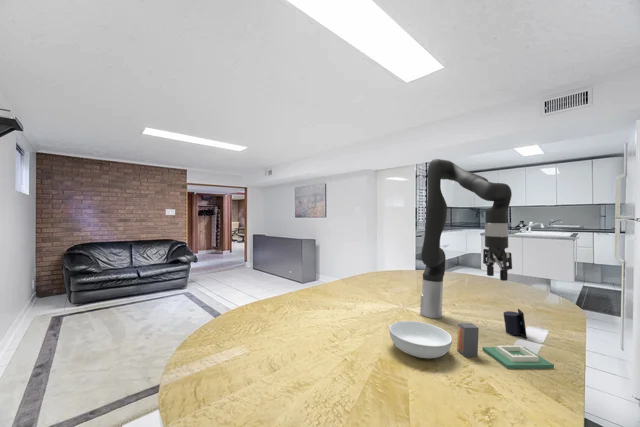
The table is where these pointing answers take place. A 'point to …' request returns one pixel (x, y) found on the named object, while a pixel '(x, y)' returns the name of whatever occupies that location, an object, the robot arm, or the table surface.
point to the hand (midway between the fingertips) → (496, 278)
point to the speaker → (515, 323)
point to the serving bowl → (420, 339)
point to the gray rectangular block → (467, 340)
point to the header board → (517, 357)
